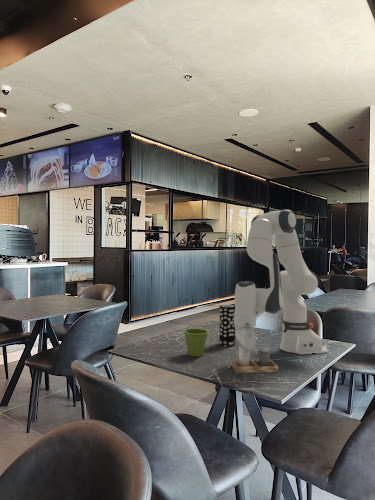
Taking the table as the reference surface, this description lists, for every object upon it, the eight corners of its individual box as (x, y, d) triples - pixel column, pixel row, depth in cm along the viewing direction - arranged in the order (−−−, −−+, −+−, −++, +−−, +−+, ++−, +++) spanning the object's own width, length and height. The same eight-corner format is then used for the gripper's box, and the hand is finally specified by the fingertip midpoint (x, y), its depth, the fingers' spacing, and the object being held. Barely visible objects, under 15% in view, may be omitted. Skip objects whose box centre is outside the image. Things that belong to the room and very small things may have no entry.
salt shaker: (248, 362, 157) (248, 342, 157) (250, 365, 152) (251, 345, 152) (237, 362, 156) (238, 342, 156) (239, 365, 152) (240, 345, 152)
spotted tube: (217, 345, 193) (217, 306, 193) (221, 341, 201) (222, 304, 200) (232, 347, 190) (233, 307, 190) (237, 343, 198) (237, 305, 197)
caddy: (271, 366, 160) (271, 359, 160) (278, 374, 150) (278, 367, 150) (231, 367, 159) (231, 359, 159) (236, 375, 149) (236, 367, 149)
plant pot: (200, 360, 168) (200, 335, 168) (178, 356, 174) (178, 331, 174) (213, 354, 178) (213, 330, 178) (191, 350, 184) (191, 327, 184)
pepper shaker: (267, 366, 157) (268, 347, 157) (270, 369, 153) (271, 350, 153) (257, 366, 157) (257, 347, 157) (260, 369, 153) (260, 350, 152)
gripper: (259, 326, 144) (258, 362, 144) (247, 316, 164) (246, 348, 165) (242, 326, 144) (242, 362, 144) (232, 316, 164) (232, 348, 164)
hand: (244, 354), depth 154 cm, fingers closed on salt shaker, 4 cm apart
